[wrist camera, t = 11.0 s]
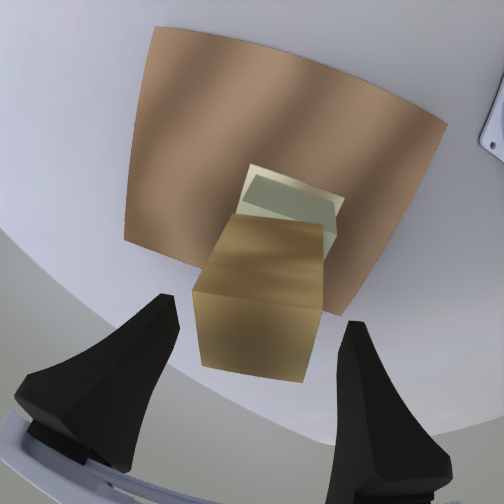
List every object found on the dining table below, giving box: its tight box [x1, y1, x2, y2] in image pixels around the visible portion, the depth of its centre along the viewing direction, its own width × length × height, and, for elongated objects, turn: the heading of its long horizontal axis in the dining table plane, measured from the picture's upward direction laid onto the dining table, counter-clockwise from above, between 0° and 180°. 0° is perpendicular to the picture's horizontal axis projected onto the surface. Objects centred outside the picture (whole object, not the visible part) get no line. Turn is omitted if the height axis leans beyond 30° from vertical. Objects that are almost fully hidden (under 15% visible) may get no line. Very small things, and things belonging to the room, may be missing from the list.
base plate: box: [124, 27, 448, 316], centre depth 19 cm, size 18×16×1 cm
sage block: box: [238, 174, 337, 262], centre depth 18 cm, size 5×5×4 cm
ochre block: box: [192, 213, 323, 383], centre depth 14 cm, size 4×4×6 cm
